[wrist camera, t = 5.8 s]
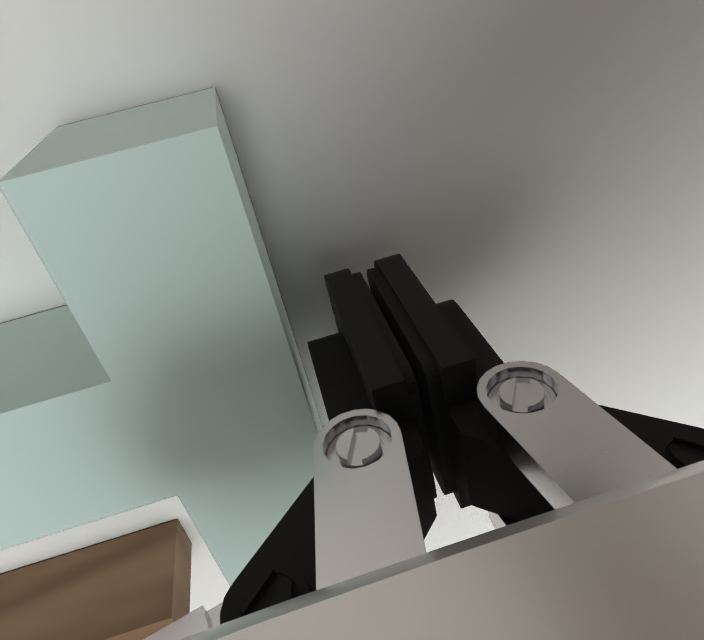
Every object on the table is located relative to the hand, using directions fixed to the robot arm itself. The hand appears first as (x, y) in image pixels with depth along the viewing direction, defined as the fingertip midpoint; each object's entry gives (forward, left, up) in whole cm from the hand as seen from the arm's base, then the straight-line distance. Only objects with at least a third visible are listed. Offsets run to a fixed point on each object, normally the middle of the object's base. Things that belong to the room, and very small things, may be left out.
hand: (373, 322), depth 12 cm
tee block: (0, -7, -2) cm, 7 cm away
